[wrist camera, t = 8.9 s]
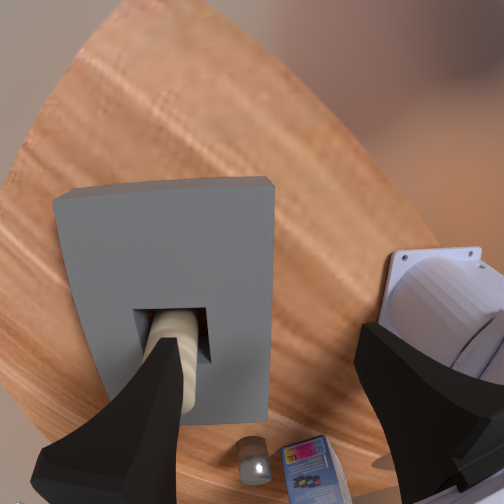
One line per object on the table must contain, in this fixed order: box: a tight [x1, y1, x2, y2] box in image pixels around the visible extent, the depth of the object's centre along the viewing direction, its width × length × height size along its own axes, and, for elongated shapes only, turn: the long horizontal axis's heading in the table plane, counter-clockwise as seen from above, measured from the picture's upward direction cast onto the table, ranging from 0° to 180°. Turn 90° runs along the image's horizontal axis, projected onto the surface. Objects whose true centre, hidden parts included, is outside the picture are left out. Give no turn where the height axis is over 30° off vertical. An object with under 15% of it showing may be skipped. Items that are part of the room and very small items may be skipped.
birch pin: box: [142, 307, 200, 415], centre depth 18 cm, size 3×3×8 cm
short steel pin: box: [237, 436, 272, 485], centre depth 27 cm, size 3×3×4 cm
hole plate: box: [53, 176, 275, 425], centre depth 20 cm, size 12×18×3 cm, turn 0°
